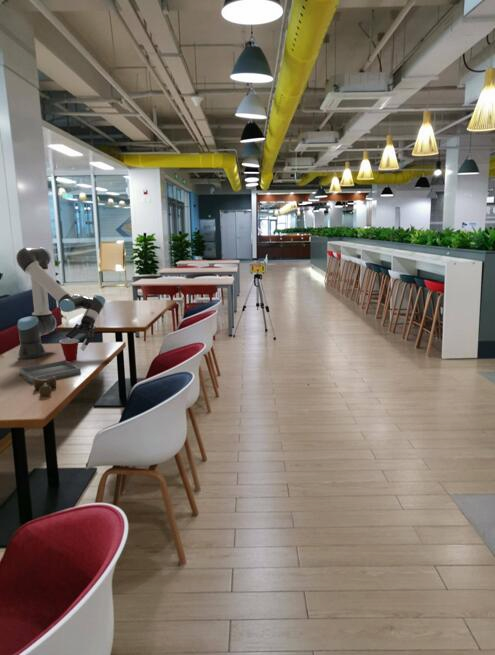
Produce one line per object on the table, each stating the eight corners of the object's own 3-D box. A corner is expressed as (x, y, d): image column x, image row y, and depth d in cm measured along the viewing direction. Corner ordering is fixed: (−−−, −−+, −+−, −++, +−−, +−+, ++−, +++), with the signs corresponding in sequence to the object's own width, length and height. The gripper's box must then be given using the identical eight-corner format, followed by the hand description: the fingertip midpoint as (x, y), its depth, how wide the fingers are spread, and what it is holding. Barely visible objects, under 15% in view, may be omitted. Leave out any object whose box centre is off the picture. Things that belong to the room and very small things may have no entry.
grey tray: (20, 374, 263) (19, 368, 263) (66, 365, 277) (65, 360, 277) (32, 383, 244) (31, 378, 244) (80, 373, 258) (80, 368, 258)
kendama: (34, 399, 222) (35, 386, 240) (57, 396, 225) (56, 383, 244) (33, 386, 221) (33, 374, 239) (56, 384, 224) (55, 372, 242)
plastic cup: (75, 363, 281) (72, 342, 279) (57, 362, 284) (55, 342, 281) (85, 358, 292) (82, 338, 290) (68, 358, 294) (66, 338, 292)
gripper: (109, 322, 294) (93, 353, 284) (78, 321, 306) (62, 350, 296) (101, 315, 289) (85, 346, 279) (70, 314, 300) (53, 344, 290)
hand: (73, 349), depth 287 cm, fingers open, 13 cm apart
